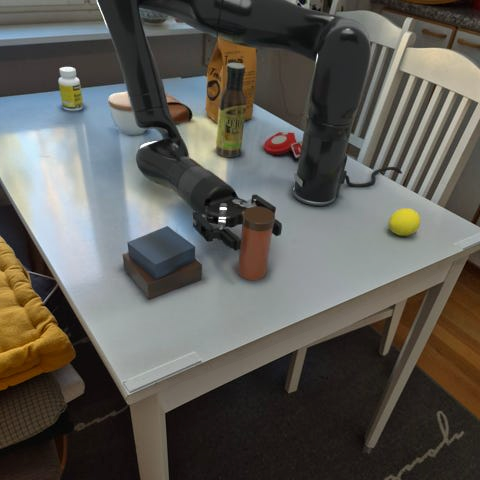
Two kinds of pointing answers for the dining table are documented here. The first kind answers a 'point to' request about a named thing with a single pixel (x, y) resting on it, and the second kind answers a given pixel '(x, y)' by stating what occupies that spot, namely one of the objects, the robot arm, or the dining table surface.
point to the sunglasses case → (178, 110)
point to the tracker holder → (283, 144)
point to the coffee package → (218, 75)
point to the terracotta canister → (255, 242)
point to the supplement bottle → (70, 89)
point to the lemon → (404, 221)
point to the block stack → (161, 262)
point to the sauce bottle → (231, 113)
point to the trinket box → (123, 114)
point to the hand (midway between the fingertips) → (259, 238)
